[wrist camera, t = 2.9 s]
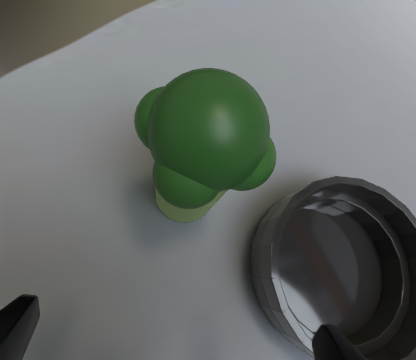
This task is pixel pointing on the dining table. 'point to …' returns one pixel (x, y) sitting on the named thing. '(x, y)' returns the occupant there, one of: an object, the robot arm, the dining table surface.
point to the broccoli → (204, 140)
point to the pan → (340, 267)
